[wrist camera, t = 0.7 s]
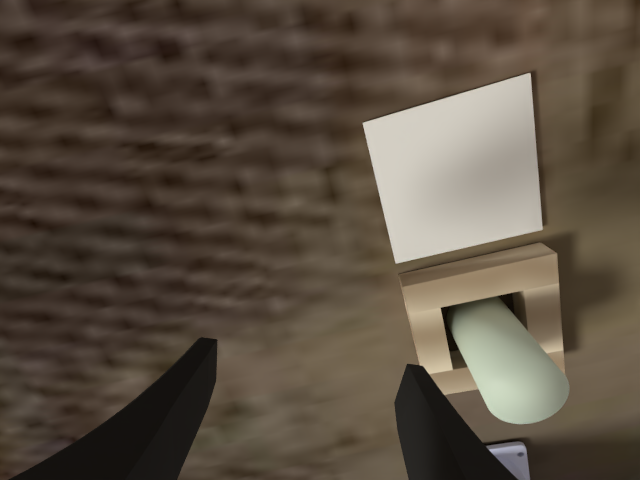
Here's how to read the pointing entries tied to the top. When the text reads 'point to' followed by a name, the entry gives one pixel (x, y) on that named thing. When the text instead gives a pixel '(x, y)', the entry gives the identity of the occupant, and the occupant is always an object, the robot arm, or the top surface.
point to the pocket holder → (478, 283)
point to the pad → (458, 170)
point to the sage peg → (507, 362)
